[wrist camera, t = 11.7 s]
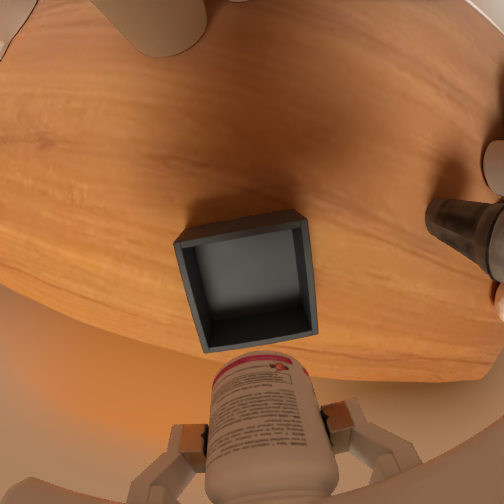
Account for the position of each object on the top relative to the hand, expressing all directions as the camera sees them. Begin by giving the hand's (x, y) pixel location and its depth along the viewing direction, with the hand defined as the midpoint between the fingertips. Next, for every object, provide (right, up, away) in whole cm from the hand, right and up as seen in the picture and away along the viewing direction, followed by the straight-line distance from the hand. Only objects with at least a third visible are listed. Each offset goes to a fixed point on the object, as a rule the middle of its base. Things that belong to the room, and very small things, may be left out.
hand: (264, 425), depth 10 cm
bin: (-1, +5, +19) cm, 19 cm away
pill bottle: (0, +1, +3) cm, 3 cm away
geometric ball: (+39, +1, +22) cm, 45 cm away
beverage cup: (+21, +11, +18) cm, 30 cm away
